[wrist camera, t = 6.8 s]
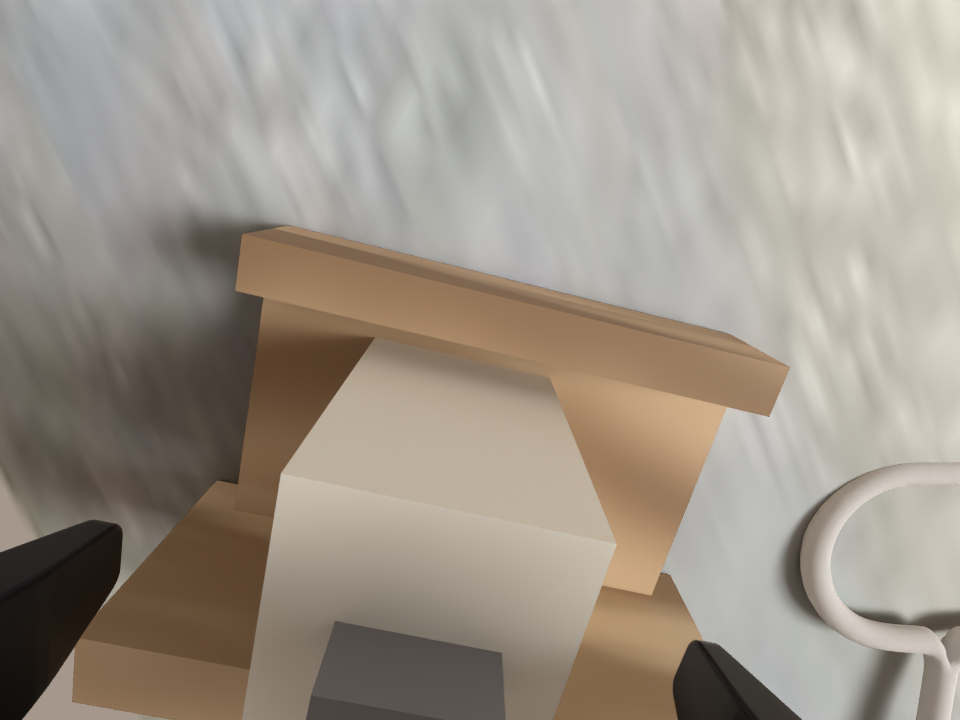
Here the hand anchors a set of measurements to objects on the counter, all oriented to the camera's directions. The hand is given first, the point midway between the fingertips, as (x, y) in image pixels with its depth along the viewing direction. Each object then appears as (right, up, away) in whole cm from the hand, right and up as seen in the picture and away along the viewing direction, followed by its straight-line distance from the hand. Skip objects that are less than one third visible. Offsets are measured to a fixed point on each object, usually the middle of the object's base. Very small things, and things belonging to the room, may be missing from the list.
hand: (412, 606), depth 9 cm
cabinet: (0, +2, +6) cm, 6 cm away
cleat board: (+1, +2, +7) cm, 8 cm away
